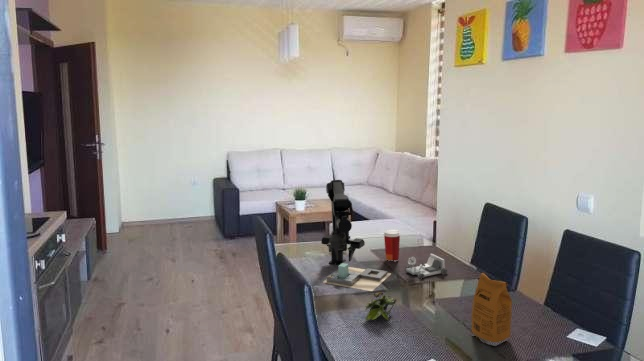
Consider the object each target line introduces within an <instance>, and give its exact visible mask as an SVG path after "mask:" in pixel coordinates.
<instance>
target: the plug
mask: <svg viewBox="0 0 644 361" xmlns="http://www.w3.org/2000/svg"><path fill="white" fill-rule="evenodd" d="M348 267H349V263H346V262H344V263H342V264H340V265H338V267H337V268H338V269H337V270H338V272H339V277H342V278H346V277H348V276H349V269H348Z"/></svg>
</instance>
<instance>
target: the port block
mask: <svg viewBox="0 0 644 361" xmlns="http://www.w3.org/2000/svg"><path fill="white" fill-rule="evenodd" d="M360 278H361V273H355V272H349V276H348V277H346V278H342V277H339V272H338V269H336V270H334V271H332V272H331V273H330V274H328V275H327V276H326V279H327V282H331V283H337V284H342V285H348V286H352V285H353V284H354V283H355V282H357V281H358V280H359V279H360Z"/></svg>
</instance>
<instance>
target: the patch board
mask: <svg viewBox="0 0 644 361" xmlns="http://www.w3.org/2000/svg"><path fill="white" fill-rule="evenodd" d="M348 269H349V272H355V273H362V272H363V271H365V270H366V269H367V268H366V269H365V268H359V267H351V266H348ZM370 275H374V276H376V275H377V274H375V273H371V274H370ZM391 275H392V273H391V272H388V274H387V275H386V276H385V277H384V278H382V279H381V280H380V281H379V280H373V279H367V278H360V279H359V280H358V281H357V282H355V283H354V284H353V285H352V286H348V285H342V284H337V283H331V282H327V278H326V279H324V280H323V281H322V283H323V284H329V285H334V286H340V287H346V288H351V289H357V290H362V291H366V292H367V291H368V292H373V291H375V290H376V288H378V287H379V286H380V285H381V284H382V283H383V282H384V281H385V280H386V279H388V278H389V277H390V276H391Z"/></svg>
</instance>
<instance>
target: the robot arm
mask: <svg viewBox="0 0 644 361" xmlns="http://www.w3.org/2000/svg"><path fill="white" fill-rule="evenodd" d="M325 186H326V187H325V188H326V189H325V192H326V194H327V196H328V198H329V200H330V206H331V225H332V226H331V227H332V228H331V229H332V230H331V232H330V234H326V235H325V236H323V237H322V238H321V240H320V241H321V244H322V245H325V246H327V248H328V249H327V250H328V252H329V253H331V256H330V257H331V260H330V261H328V263H329V264H333V265H338V266H339V265H340V264H342V263H346V261H347V260H346V259H344V252H346V251H347V250H348V262H351V261H352V258H353V256H354V253H355V251H356V250H357V249H358V250H359V249H361V248H363V247H365V246H366V245H365V244H366V242H365V240H364V239H363V238H354V239H353V240H351V236H350V231H351V230H352V227H353V224H352V222H351V220H350V218H349V216H353V214H352V213H353V212H354V209H353V204H352V203H353V202H351V199H350V198H349V195H347V194H345V191H346V190H345V182H344V181H343V180H342V179H332V180H330V182H328V183H326V185H325ZM348 245H349V247H348Z"/></svg>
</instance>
